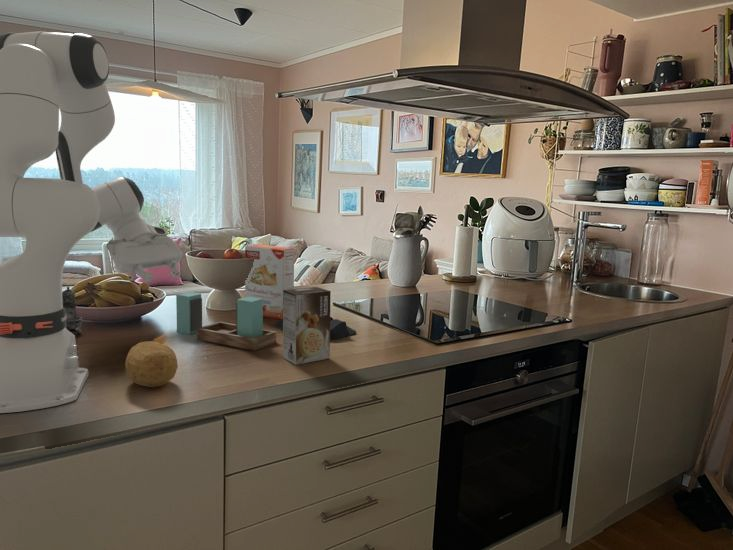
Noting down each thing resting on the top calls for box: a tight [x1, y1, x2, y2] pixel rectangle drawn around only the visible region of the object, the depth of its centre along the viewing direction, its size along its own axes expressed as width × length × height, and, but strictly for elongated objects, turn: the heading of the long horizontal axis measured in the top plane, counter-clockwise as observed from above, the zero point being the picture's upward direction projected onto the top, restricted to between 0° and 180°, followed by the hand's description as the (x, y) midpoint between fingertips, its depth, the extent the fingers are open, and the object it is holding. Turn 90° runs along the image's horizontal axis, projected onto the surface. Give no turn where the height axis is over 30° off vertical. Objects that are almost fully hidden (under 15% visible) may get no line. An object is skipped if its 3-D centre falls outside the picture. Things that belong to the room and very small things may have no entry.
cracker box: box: [244, 243, 295, 320], centre depth 165 cm, size 14×6×21 cm, turn 64°
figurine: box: [62, 286, 83, 335], centre depth 140 cm, size 6×6×12 cm
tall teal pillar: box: [175, 291, 203, 335], centre depth 145 cm, size 5×4×10 cm
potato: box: [124, 340, 178, 388], centre depth 108 cm, size 10×14×8 cm
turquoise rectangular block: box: [235, 296, 264, 338], centre depth 137 cm, size 5×4×10 cm
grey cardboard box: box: [282, 286, 332, 366], centre depth 126 cm, size 9×6×16 cm
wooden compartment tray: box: [196, 321, 277, 352], centre depth 139 cm, size 18×9×3 cm, turn 64°
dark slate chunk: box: [272, 316, 357, 341], centre depth 152 cm, size 15×22×5 cm
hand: (163, 277), depth 147 cm, fingers open, 8 cm apart
